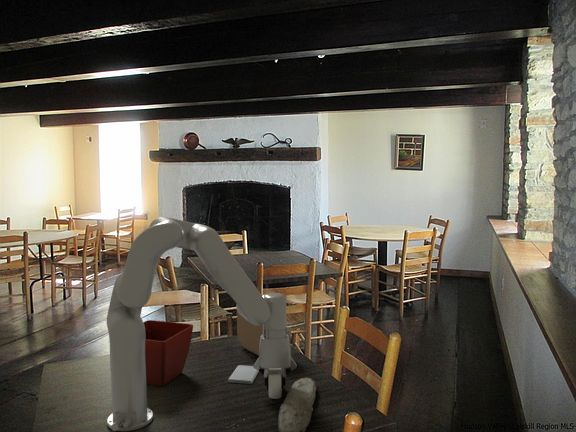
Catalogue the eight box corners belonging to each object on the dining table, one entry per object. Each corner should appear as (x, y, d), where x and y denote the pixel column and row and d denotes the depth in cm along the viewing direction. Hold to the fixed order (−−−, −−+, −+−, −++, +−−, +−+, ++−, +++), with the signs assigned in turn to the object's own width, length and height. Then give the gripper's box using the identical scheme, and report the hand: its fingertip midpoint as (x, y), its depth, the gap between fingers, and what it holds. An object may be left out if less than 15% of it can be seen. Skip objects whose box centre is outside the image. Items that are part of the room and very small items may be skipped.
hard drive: (251, 381, 170) (260, 366, 182) (227, 379, 171) (237, 364, 184) (251, 385, 170) (260, 370, 182) (227, 383, 172) (237, 369, 184)
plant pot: (149, 363, 188) (148, 318, 187) (195, 370, 182) (194, 324, 180) (116, 384, 170) (114, 335, 169) (165, 392, 164) (164, 341, 162)
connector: (281, 398, 159) (281, 377, 158) (268, 398, 159) (268, 377, 158) (281, 383, 170) (281, 363, 169) (269, 383, 170) (269, 363, 169)
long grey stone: (321, 389, 169) (292, 389, 170) (320, 374, 169) (291, 373, 170) (309, 440, 134) (272, 439, 136) (308, 421, 134) (271, 420, 136)
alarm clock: (286, 355, 195) (286, 300, 192) (266, 361, 189) (265, 304, 187) (257, 341, 211) (256, 289, 209) (237, 346, 205) (236, 293, 203)
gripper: (300, 328, 166) (301, 382, 168) (249, 328, 166) (250, 383, 168) (301, 336, 158) (301, 392, 160) (247, 336, 158) (248, 393, 160)
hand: (275, 387), depth 164 cm, fingers closed on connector, 4 cm apart
